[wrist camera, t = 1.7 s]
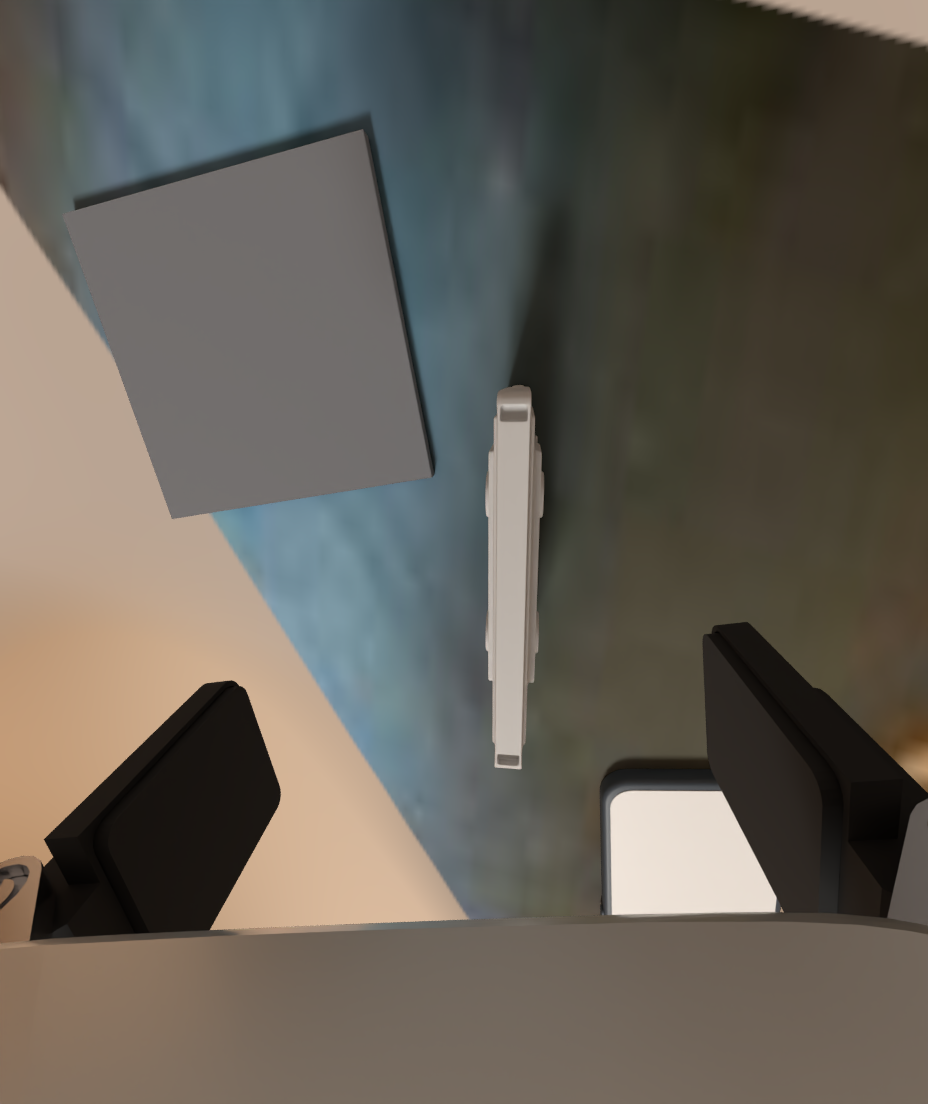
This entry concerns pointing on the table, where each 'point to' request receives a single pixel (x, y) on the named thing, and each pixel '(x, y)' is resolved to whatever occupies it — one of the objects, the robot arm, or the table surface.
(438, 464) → the table surface
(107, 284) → the pad
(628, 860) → the phone case
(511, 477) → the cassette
